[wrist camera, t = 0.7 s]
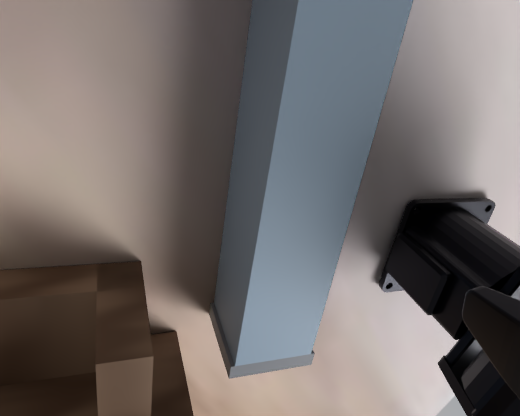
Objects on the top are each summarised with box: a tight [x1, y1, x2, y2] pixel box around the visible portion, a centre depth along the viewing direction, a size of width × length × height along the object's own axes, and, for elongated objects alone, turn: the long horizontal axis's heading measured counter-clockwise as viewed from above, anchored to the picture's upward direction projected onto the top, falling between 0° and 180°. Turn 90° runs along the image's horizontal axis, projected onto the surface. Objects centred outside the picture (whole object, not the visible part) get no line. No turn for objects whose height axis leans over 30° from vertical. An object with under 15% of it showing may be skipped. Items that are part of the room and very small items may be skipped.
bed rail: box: [209, 0, 413, 379], centre depth 17 cm, size 4×22×4 cm, turn 170°
